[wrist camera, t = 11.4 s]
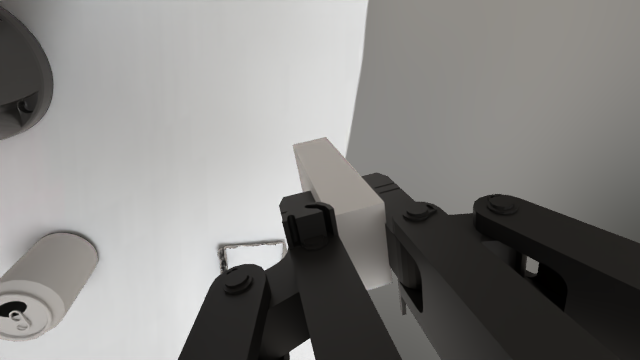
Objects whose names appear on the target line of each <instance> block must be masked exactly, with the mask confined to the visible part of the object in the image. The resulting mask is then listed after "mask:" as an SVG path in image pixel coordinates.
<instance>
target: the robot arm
mask: <svg viewBox="0 0 640 360" xmlns="http://www.w3.org/2000/svg"><path fill="white" fill-rule="evenodd" d="M52 93H53V79H52V73H51V69H50V65H49V63H48V60H47V58H46V55H45V53H44V51H43V50H42V48H41V46H40V45H39V43H38V42H37V40H36V39H35V37H34V36H33V35H32V34H31V32H30V31H29V30H28V29H27V28H26V27H25V26H24V25H23V24H22V23H21V22H20V21H19V20H18V19H17V18H15V17H14V16H13V15H12V14H11V13H9V12H8V11H6V10H5V9H4V8H2V7H0V140H3V139H6V138H9V137H12V136H14V135H16V134H19V133H21V132H24V131H26V130H28V129H29V128H31V127H32V126H34V125H35V124H36V123H37V122H38V121H39V120H40V119H41V118H42V117H43V116H44V114H45V113H46V111H47V109H48V107H49V105H50V102H51V98H52ZM293 149H294V153H295V158H296V162H297V167H298V172H299V176H300V181H301V186H302V190H303V193H299V194H295V195H291V196H287V197H283V199H282V201H281V203H280V205H279V207H280V211H281V215H282V223H283V227H284V231H285V235H286V239H287V243H288V251H287V254H286V255H285V256H284V258H283V259H282V260H281V261H280V262H278V263H277V264H275V265H274V266H272V267H271V268H269V269H267V270H265V271H264V270H263V269H262V267H260V266H257V265H255V264H243V265H239V266H235V267H233V268H231V269H229V270H227V271H224V272H223V273H222V274H221V275H219V276H218V277H217V278H216V279H215V280H214V282H213V283H212V285H211V286H210V288H209V291H208V293H207V295H206V297H205V300H204V302H203V304H202V306H201V309H200V311H199V313H198V315H197V318H196V320H195V322H194V324H193V327H192V329H191V331H190V333H189V336H188V338H187V340H186V342H185V345H184V347H183V349H182V351H181V354H180V356H179V358H178V360H290V355H289V352H290V351H291V350H293V349H294V348H296V347H297V346H299V345H300V344H302V343H303V342H305V341H306V340H308V339H309V338H310V339H311V343H312V347H313V351H314V356H315V360H402V359H401V357H400V355H399V353H398V351H397V349H396V347H395V345H394V343H393V341H392V339H391V337H390V335H389V333H388V331H387V329H386V327H385V325H384V323H383V321H382V319H381V317H380V315H379V314H378V312H377V310H376V308H375V306H374V304H373V302H372V300H371V298H370V296H369V294H368V292H367V290H370V289H374V288H377V287H380V286H383V285H387V284H390V283H392V273H391V268H392V270H393V271H394V273H395V274H396V276H397V277H398V285H399V297H400V307H401V311H402V315H405V314H406V304H407V306H408V307H409V309H410V311H411V312H412V314H413V315H414V317H415V319H416V320H417V321H418V323H419V325H420V326H421V328H422V329H423V331H424V333H425V334H426V336H427V338H428V339H429V341H430V342H431V344H432V346H433V347H434V349H435V350H436V352H437V354H438V355H439V357H440V358H441V360H640V243H637V242H635V241H632V240H630V239H627V238H624V237H622V236H619V235H616V234H614V233H611V232H608V231H605V230H603V229H600V228H597V227H595V226H592V225H589V224H587V223H584V222H582V221H579V220H576V219H574V218H571V217H568V216H566V215H563V214H560V213H558V212H555V211H552V210H549V209H547V208H544V207H542V206H539V205H536V204H534V203H531V202H528V201H525V200H523V199H520V198H517V197H513V196H509V195H501V194H495V195H487V196H484V197H481V198H479V199H478V200H476V201H475V203H474V206H473V213H470V214H457V215H448V214H447V213H445V212H444V211H443V210H442V209H441V208H439V207H437V206H436V205H434V204H431V203H426V202H415V201H414V200H413V199H412V198H411V197H410V196H409V195H407V194H406V193H405V192H404V191H403V190H402V189H400V187H399V186H398V185H397V184H395V183H394V182H393V181H392V180H391V179H390V178H389V177H388V176H385V175H382V174H379V173H374V174H369V175H365V176H362V177H361V176H360V175H359V174H358V172H357V171H356V170H355V169H354V168H353V167H352V166H351V165H350V164H349V162H348V161H347V160H346V159H345V158H344V157H343V156H342V155H341V153H340V152H339V151H338V150H337V149H336V148H335V147H334V146H333V144H332V143H331V142H330V141H329V140H328V139H327V138H326V137H324V138H320V139H316V140H311V141H307V142H303V143H299V144H294V145H293ZM527 256H529V257H530V258H532V259H534V260H536V261H538V262H539V267H538V273H537V274H534V273H531V272H529V271H527V270H526V261H527Z"/></svg>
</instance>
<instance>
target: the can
mask: <svg viewBox="0 0 640 360" xmlns="http://www.w3.org/2000/svg"><path fill="white" fill-rule="evenodd" d="M97 262H98V257H97V253H96V251H95V249H94V247H93V246H92V245H91V244H90V243H89V242H88V241H87V240H85V239H83V238H81V237H80V236H77V235H73V234H69V233H55V234H50V235H47V236H45V237H43V238H42V239H40V240H39V241H38V242H37V243H36V244H35V245H34V246H33V247H32V248H31V249H30V250H29V251H28V252H27V253H25V254H24V255H23V256H22V257H21V258H20V259H19V260H18V261H17V262H16V263H15V264H14V265H13V266H12V267H11V268H10V269H9V270H8V271H7V272H6V273H5V274H4V275H3V276H2V277H1V278H0V339H3V340H8V341H14V342H15V341H28V340H32V339H36V338H38V337H39V336H41V335H43V334H44V333H45V332H47V331H49V330H51V329H53V328H54V327H56V326H57V325H58V324H59V323H60V322H61V321H62V319H63V318H64V316H65V315H66V313H67V312H68V310H69V308H70V307H71V305H72V304H73V302H74V301H75V299H76V298H77V296H78V294H79V293H80V291H81V290H82V288H83V287H84V285H85V284H86V282H87V280H88V279H89V277H90V276H91V274H92V273H93V271H94V270H95V268H96V265H97Z"/></svg>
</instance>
